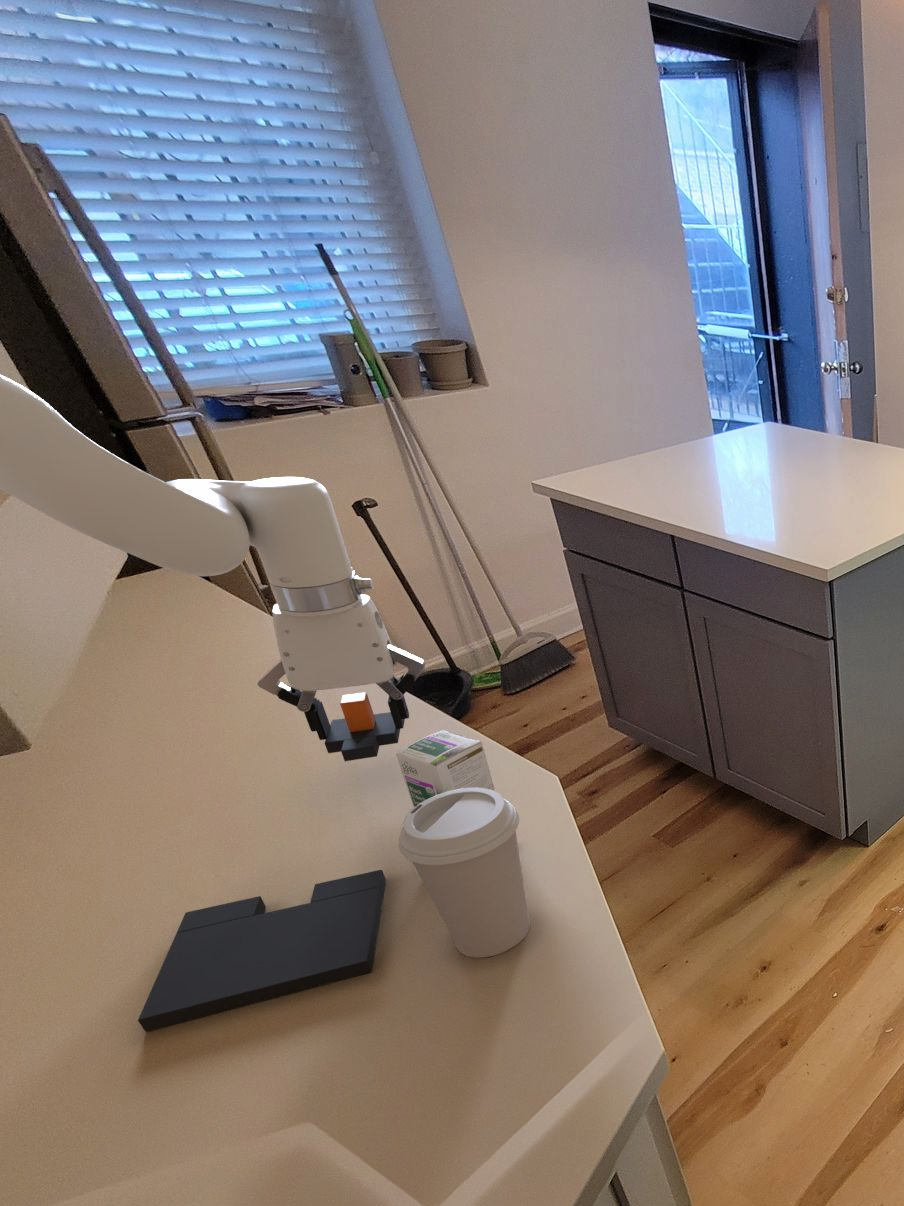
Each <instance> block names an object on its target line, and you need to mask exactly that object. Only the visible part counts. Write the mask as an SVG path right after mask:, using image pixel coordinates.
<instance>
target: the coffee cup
mask: <svg viewBox="0 0 904 1206" xmlns="http://www.w3.org/2000/svg"><path fill="white" fill-rule="evenodd" d="M519 824H520V815H519V813H518V811H517V810H516V808H515V806H514V805H513V804H512V803H511V802H510V801H508V799H506V798H504V797H503V795H502V794H500V793H499V792H498V791H496V790H495V791H493V790H490V789H485V788H462V789H456V790H451V791H447V792H444V793H441V794H438V795H435V796H433V797H431V798H429V799H427V800H425V801H423V802H421V803H420V804H418V805H417V806H415V807H413V808H411V809H410V810H409V812H408V813H407V814H406V815H405V817H404V819H403V823H402V827H401V829H400V833H399V837H398V850H399V853H400V854H401V855H402V856H403V857H404V859H406V860H407V861H410V862H411V863H412V864H413V866H414V868H415V870H416V871H417V873H418V875H419V877H420V879H421V882H422V883H423V885H424V886H425V889H426V891H427V892H428V895H429V896H430V898H431V900H432V902H433V904H434V907H435V908H436V909H437V912H438V914H439V916H440V918H441V920H442V922H443V923H444V926H445V927H446V929H447V932H448V934H449V935H450V937H451V939H452V941H453V942H454V945H455V947H456V948H457V949H456V950H458V952H459V953H461V954H462V955H463V956H466V957H469V958H474V959H475V958H477V959H478V958H480V959H481V958H489V957H494V956H497V955H500V954H503V953H505V952H507V951H509V950H511V949H512V948H514V947H516V946H517V945H518V944H519V943H521V941H523V940H524V938H525V937H526V936H527V935H528V933H529V930H530V928H531V922H530V921H531V920H530V914H529V907H528V902H527V896H526V895H527V894H526V889H525V883H524V877H523V870H522V864H521V856H520V850H519V844H518V836H517V831H516V830H518V827H519Z"/></svg>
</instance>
